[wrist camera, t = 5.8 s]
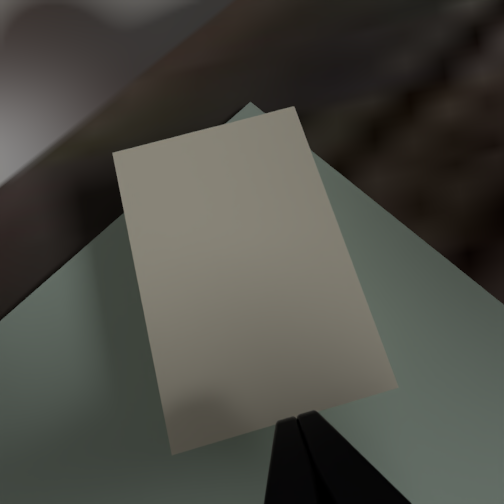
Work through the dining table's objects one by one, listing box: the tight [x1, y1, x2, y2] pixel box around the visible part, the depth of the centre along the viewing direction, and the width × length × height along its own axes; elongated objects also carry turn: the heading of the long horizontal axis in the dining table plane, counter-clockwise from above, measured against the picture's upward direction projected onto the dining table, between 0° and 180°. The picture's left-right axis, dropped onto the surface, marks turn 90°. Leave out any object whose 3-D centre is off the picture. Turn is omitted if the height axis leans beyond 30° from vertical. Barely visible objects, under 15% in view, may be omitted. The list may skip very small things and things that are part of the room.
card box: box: [113, 106, 399, 455], centre depth 14 cm, size 4×6×9 cm
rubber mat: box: [0, 102, 504, 504], centre depth 13 cm, size 20×22×1 cm
